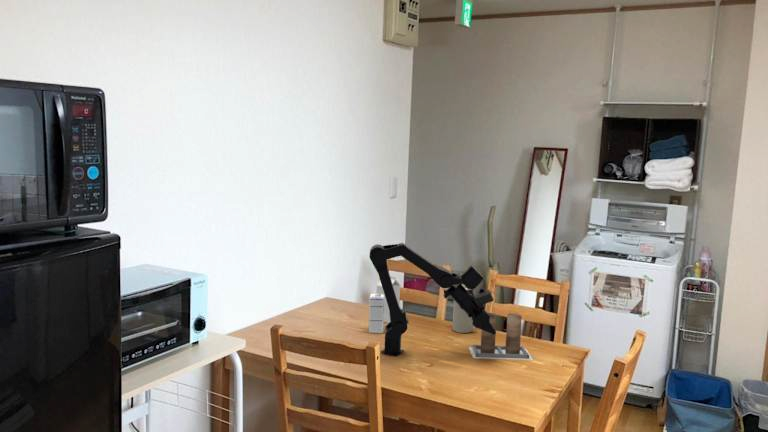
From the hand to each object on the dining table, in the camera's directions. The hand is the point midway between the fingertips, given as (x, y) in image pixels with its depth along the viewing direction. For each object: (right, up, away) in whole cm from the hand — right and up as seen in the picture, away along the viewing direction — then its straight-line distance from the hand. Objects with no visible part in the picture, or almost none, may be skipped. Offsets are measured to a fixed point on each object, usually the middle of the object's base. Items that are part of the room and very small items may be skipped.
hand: (492, 329), depth 226 cm
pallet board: (+3, -10, +1) cm, 10 cm away
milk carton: (-37, -4, +42) cm, 56 cm away
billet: (-2, -8, +1) cm, 9 cm away
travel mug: (-7, -6, +31) cm, 32 cm away
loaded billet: (+7, -9, +1) cm, 11 cm away
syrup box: (-42, -5, +26) cm, 50 cm away
